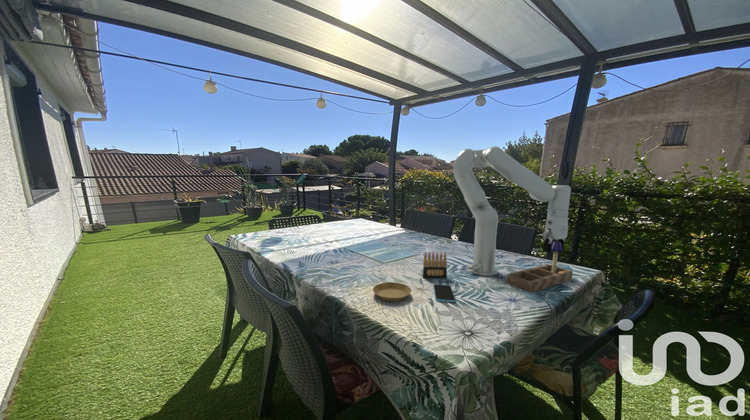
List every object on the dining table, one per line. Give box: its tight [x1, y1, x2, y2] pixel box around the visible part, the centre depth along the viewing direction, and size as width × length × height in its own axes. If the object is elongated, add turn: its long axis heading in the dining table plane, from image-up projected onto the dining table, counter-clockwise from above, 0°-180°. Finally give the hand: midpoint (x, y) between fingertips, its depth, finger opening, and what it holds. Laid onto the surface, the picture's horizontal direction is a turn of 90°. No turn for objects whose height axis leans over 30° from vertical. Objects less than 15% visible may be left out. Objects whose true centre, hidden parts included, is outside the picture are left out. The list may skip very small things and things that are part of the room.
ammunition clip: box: [422, 251, 448, 279], centre depth 123 cm, size 11×2×12 cm, turn 88°
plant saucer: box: [372, 281, 412, 303], centre depth 105 cm, size 15×15×3 cm
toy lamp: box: [551, 240, 564, 273], centre depth 123 cm, size 5×5×17 cm
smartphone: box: [432, 284, 456, 303], centre depth 106 cm, size 7×1×15 cm
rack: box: [506, 263, 573, 293], centre depth 119 cm, size 29×11×4 cm, turn 118°
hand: (553, 250), depth 122 cm, fingers open, 9 cm apart
